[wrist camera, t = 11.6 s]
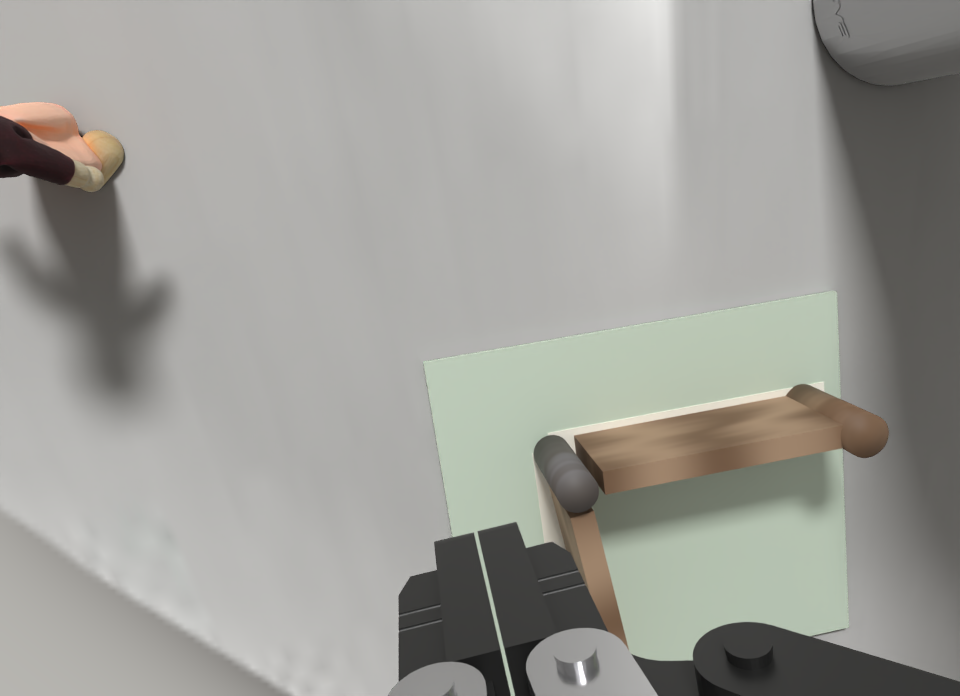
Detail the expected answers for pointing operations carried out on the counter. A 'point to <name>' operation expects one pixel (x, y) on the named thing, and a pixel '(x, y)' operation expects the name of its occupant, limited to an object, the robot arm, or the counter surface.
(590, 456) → the fixed fence section
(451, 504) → the card
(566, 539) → the hinged fence panel
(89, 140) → the grandmother figurine
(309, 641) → the counter surface
